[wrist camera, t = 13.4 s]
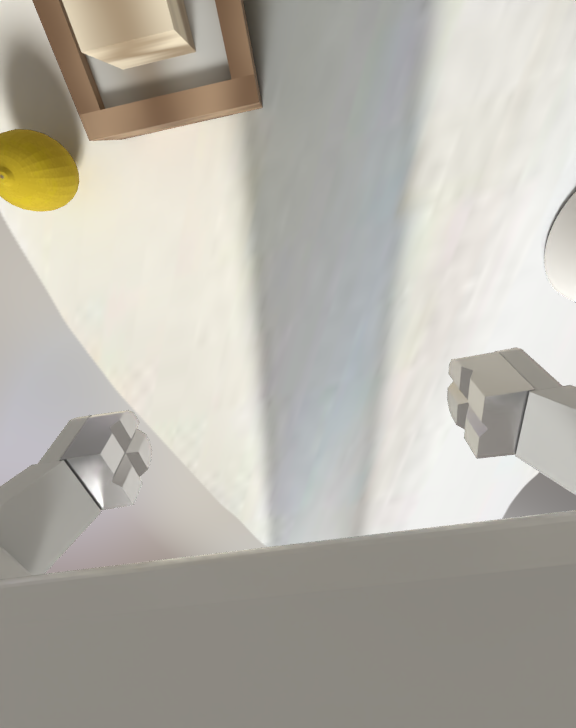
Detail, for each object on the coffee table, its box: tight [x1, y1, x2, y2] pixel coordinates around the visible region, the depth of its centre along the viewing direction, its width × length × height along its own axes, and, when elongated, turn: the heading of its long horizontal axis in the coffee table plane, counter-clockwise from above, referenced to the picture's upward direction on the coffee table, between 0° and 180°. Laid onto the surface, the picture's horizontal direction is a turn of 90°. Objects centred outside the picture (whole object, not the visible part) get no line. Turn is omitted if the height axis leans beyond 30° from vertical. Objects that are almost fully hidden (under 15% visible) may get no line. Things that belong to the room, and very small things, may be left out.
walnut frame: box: [32, 0, 262, 141], centre depth 24 cm, size 12×12×6 cm
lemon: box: [0, 129, 79, 211], centre depth 28 cm, size 6×6×8 cm
